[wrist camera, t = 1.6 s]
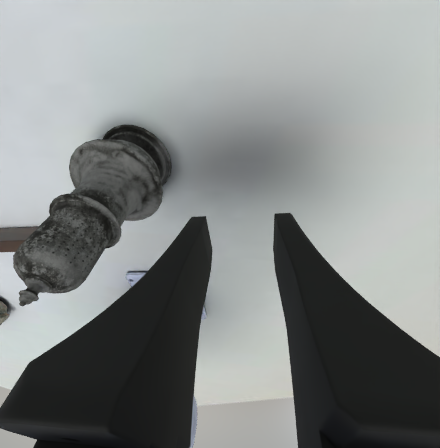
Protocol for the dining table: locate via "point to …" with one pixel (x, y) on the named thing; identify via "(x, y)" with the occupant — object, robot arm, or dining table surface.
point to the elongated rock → (3, 312)
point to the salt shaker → (93, 209)
